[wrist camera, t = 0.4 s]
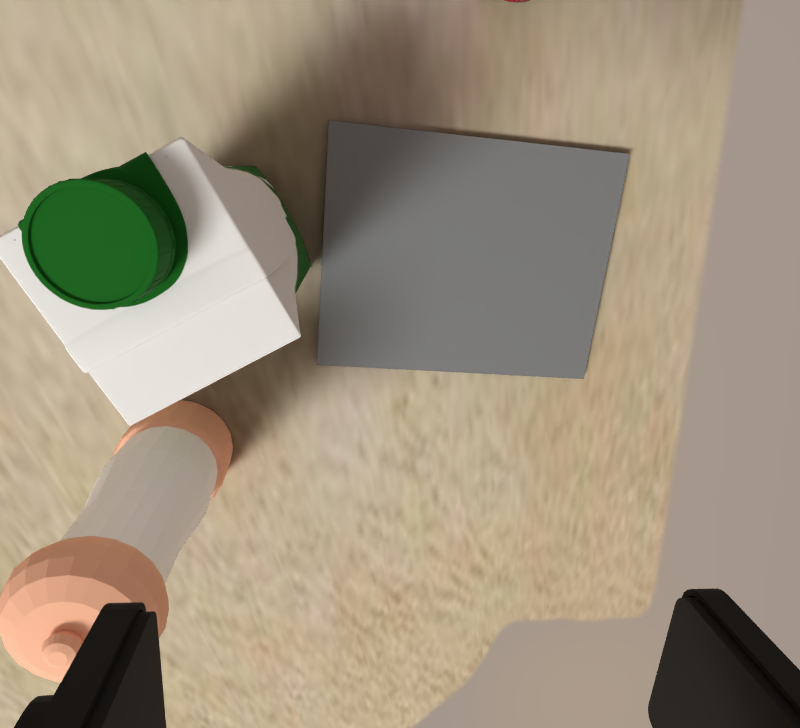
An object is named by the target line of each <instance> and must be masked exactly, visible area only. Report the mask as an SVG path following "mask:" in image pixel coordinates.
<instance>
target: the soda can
mask: <svg viewBox="0 0 800 728" xmlns="http://www.w3.org/2000/svg"><path fill="white" fill-rule="evenodd" d="M506 1H509V2H526V1H530V0H506Z"/></svg>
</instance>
